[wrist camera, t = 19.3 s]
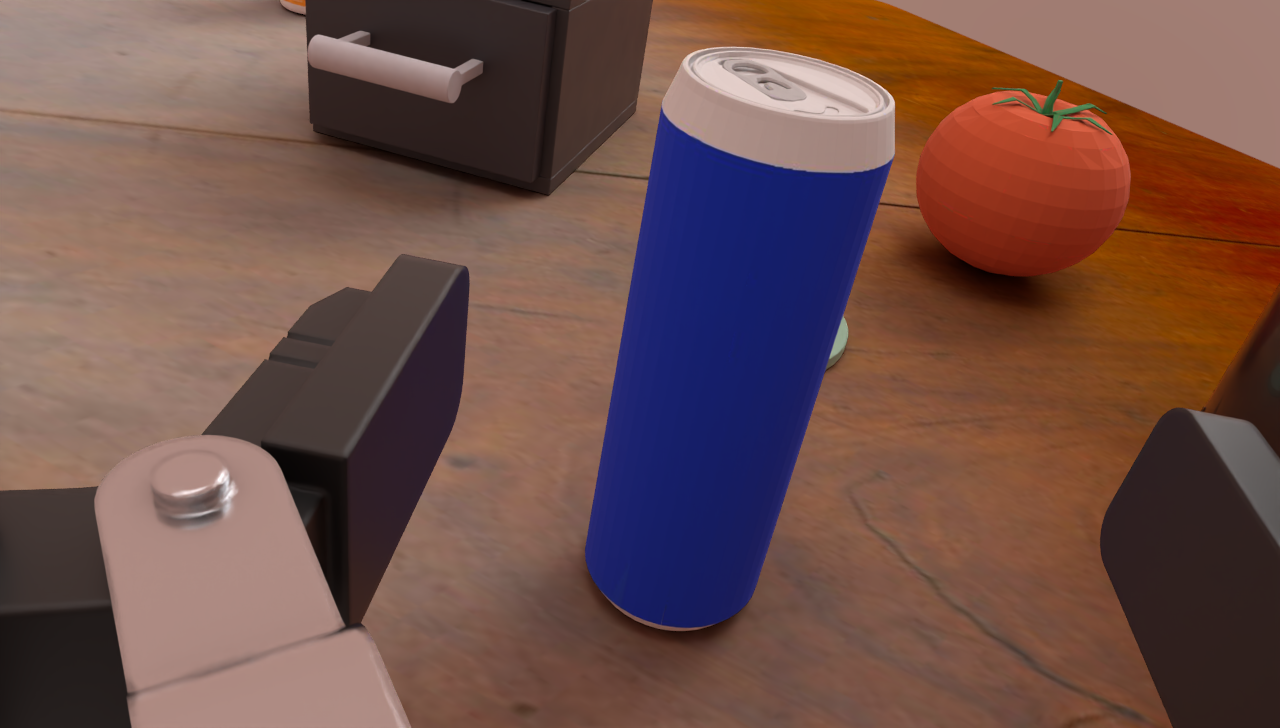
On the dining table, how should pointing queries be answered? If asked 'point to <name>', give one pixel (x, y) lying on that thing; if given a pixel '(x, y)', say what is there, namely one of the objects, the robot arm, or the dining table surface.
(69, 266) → the dining table surface
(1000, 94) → the tomato
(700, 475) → the beverage can
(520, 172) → the drawer with bar handle
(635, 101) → the small drawer unit
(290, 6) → the pill bottle
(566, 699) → the dining table surface
